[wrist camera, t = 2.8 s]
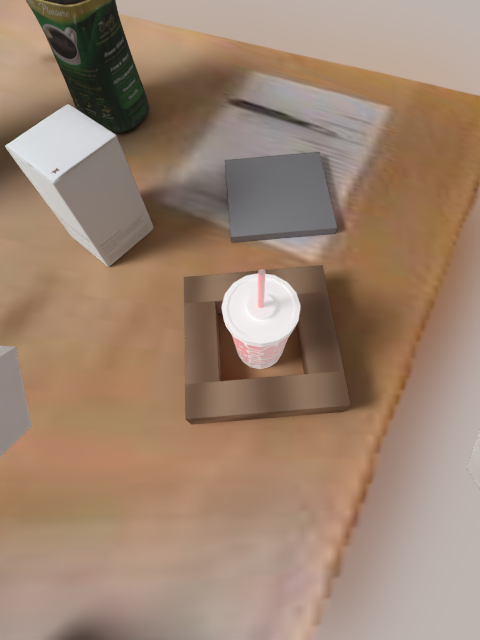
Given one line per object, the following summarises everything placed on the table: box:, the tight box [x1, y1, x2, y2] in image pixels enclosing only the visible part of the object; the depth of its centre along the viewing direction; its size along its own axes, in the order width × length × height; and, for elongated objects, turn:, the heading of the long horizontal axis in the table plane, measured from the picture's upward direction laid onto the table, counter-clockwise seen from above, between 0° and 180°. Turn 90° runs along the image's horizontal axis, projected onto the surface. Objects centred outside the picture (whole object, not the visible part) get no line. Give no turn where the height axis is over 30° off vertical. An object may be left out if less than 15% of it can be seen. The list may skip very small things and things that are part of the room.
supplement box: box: [5, 104, 154, 267], centre depth 37 cm, size 7×7×13 cm
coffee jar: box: [26, 0, 149, 133], centre depth 43 cm, size 10×8×19 cm
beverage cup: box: [221, 269, 301, 369], centre depth 30 cm, size 6×6×14 cm
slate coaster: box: [225, 152, 337, 242], centre depth 43 cm, size 12×12×1 cm
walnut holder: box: [184, 265, 351, 424], centre depth 35 cm, size 14×14×3 cm
